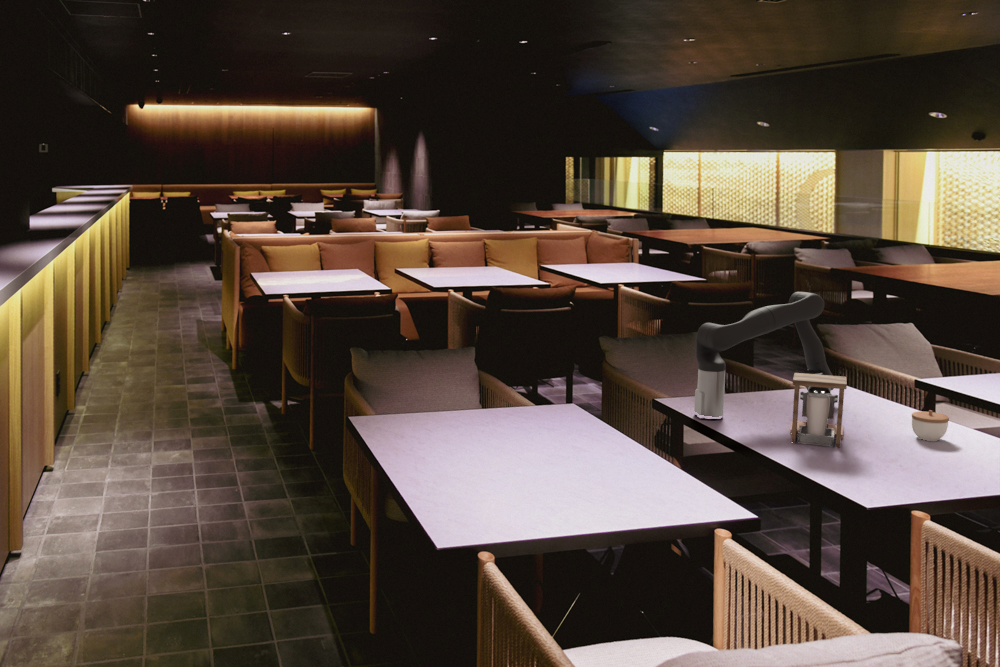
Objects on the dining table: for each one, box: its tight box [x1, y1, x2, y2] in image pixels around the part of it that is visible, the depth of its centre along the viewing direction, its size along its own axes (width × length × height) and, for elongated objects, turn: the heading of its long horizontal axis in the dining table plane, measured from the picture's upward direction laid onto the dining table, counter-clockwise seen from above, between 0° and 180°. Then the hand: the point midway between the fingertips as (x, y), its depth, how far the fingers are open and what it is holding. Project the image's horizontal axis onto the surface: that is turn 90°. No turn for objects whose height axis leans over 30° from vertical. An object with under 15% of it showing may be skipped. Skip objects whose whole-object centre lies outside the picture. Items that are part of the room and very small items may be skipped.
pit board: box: [789, 420, 844, 440], centre depth 285 cm, size 12×16×2 cm
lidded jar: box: [911, 409, 950, 442], centre depth 277 cm, size 11×11×9 cm
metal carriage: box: [797, 392, 836, 448], centre depth 280 cm, size 26×11×11 cm, turn 159°
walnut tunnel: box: [790, 372, 848, 449], centre depth 272 cm, size 12×16×21 cm
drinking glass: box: [806, 393, 830, 436], centre depth 273 cm, size 7×7×15 cm
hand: (818, 402), depth 291 cm, fingers closed
